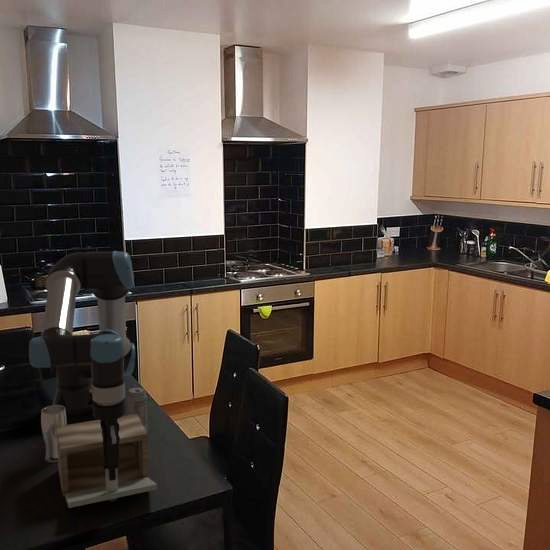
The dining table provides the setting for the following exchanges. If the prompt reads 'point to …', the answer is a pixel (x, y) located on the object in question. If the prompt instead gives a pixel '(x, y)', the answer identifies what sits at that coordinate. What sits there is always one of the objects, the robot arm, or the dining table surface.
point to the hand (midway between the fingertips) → (112, 489)
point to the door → (102, 494)
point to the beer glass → (52, 429)
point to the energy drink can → (138, 404)
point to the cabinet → (100, 453)
